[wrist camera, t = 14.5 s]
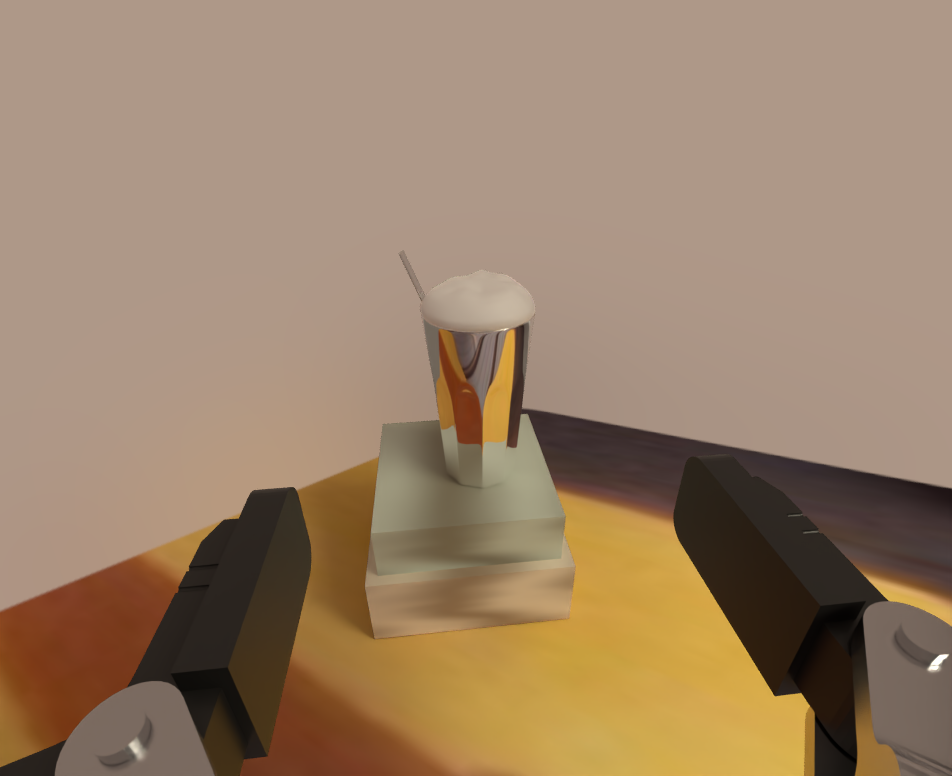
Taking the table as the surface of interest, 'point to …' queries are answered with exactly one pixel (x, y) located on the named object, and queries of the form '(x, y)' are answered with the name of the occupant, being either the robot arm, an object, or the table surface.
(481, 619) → the tower base
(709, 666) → the table surface
